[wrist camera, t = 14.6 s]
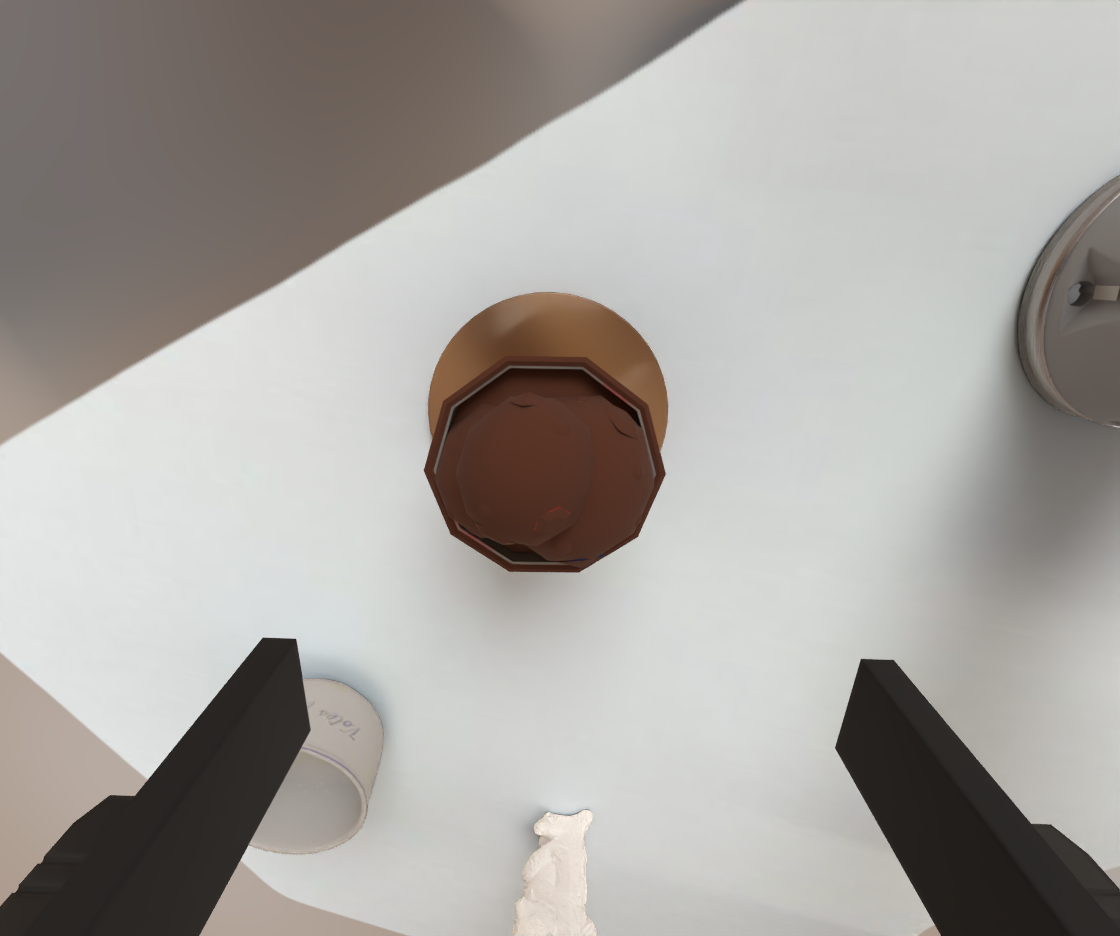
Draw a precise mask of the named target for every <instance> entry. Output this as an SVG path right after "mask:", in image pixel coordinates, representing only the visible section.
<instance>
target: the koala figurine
mask: <svg viewBox="0 0 1120 936" xmlns="http://www.w3.org/2000/svg"><path fill="white" fill-rule="evenodd" d="M592 820H593V814H592V812H591V811H589V810H582V811H581V812H580V813H579V814H575V815H571V816H563V815H556V814H552V813H550V812H547V813H545V815H544V816H543V818H541V819H540V820H539V821H538V822H537V823H535V825H534V832H535V834H537V835H540V838H539V846H540V848H539V849H538V850H536V851H535V852H534V853H533V854H532V855H531V856H530V858H529V860H528V861H527V863H526V865H525V867H524V869H523V872H522V874H523V880H524V881H525V883H526V884H525V885H524V889H525V892H524V897H521V898H520V899H518V900H517V901H516V903H515V909H516V914H517V918H516V920H515V924H514V927H513V929H512V934H513V936H597V932H596V928H595V925H594V923H593V922H592V920H590V918H588V917H586V912H585V907H584V906H585V903H586V901H587V882H586V880H585V879H586V876H585V871H586V859H587V856H586V852H585V848H584V846H585V843H584V835H585V833H586V831H587V830H588V828H589V826H590V824H591V822H592Z"/></svg>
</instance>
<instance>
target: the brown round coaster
mask: <svg viewBox="0 0 1120 936" xmlns="http://www.w3.org/2000/svg"><path fill="white" fill-rule="evenodd" d="M505 356H552V357H587V358H589V359H590V360H591V361H592V362H594V363H595V364H596V365H598V366H599V367H600V368H601V369H603V370H604V371H605V372H607V373H608V374H609V375H611V376H612V377H613V378H614V379H616V380H617V381H618V382H620V383H621V384H622V385H623V386H625V387H626V388H627V389H629V390H630V391H631V392H633V393H634V394H635V395H636V396H638V397H639V398H640V399H642V400H643V401H644V402H645V403H647V404H648V406H649V410H650V414H651V418H652V422H653V426H654V430H655V434H656V438H657V442H658V446H659V450H661V447H662V444H663V441H664V437H665V433H666V427H667V420H668V401H667V391H666V387H665V382H664V378H663V375H662V372H661V369H660V367H659V364H658V362H657V360H656V358H655V356H654V354H653V353H652V351H651V349H650V347H649V346H648V345H647V343H646V342H645V341H644V339H643V338H642V336H641V335H640V334H639V333H638V332H637V331H636V330H635V329H634V328H633V327H632V326H631V325H630V324H629V323H628V322H627V321H625V320H624V319H623V318H622V317H620V316H619V315H618V314H616V313H615V312H613V311H612V310H610V309H608V308H606V307H605V306H603V305H601V304H599V303H596V302H594V301H591V300H589V299H586V298H583V297H579V296H575V295H571V294H565V293H556V292H540V293H530V294H524V295H519V296H516V297H512V298H509V299H506V300H503V301H501V302H499V303H497V304H495V305H493V306H490V307H488V308H487V309H485V310H484V311H482V312H481V313H479V314H478V315H476V316H475V317H473V318H472V319H471V320H470V321H469V322H468V323H466V324H465V325H464V326H463V327H462V328H461V329H460V330H459V331H458V332H457V334H456V335H455V336H454V337H453V338H452V339H451V341H450V342H449V344H448V345H447V347H446V349H445V350H444V352H443V353H442V355H441V357H440V359H439V362H438V364H437V366H436V368H435V371H434V375H433V378H432V382H431V386H430V393H429V402H428V416H429V424H430V431H431V435H432V438H433V436H434V432H435V428H436V425H437V421H438V417H439V414H440V410H441V407H442V403H443V401H444V400H445V399H447V398H448V397H449V396H451V395H452V394H454V393H455V392H456V391H458V390H459V389H460V388H462V387H463V386H465V385H466V384H467V383H469V382H470V381H472V380H473V379H474V378H476V377H477V376H478V375H480V374H481V373H483V372H484V371H485V370H487V369H488V368H490V367H491V366H492V365H494V364H495V363H496V362H498V361H499V360H501V359H502V358H503V357H505Z"/></svg>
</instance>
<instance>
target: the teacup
mask: <svg viewBox="0 0 1120 936" xmlns="http://www.w3.org/2000/svg"><path fill="white" fill-rule="evenodd" d="M303 684H304V690H305V697H306V703H307V709H308V715H309V721H310V728H311V731H310V733H309V735H308V736H307V738H306V740H305V742H304V744H303V746H302V747H301V749H300V751H299V753H298V755H297V757H296V759H295V760H294V762H293V764H292V766H291V768H290V770H289V771H288V773H287V775H286V777H285V779H284V781H283V782H282V784H281V786H280V788H279V790H278V792H277V793H276V795H275V797H274V799H273V801H272V803H271V805H270V806H269V808H268V810H267V812H266V814H265V816H264V817H263V819H262V821H261V823H260V825H259V827H258V828H257V830H256V832H255V834H254V836H253V838H252V839H251V841H250V843H249V846H252V847H255V848H258V849H261V850H264V851H271V852H275V853H282V854H311V853H318V852H322V851H325V850H329V849H332V848H334V847H337V846H339V845H341V844H343V843H345V842H346V841H348V840H349V839H351V838H352V837H353V836H354V835H355V834H356V833H357V832H358V831H359V829H360V828H361V827H362V825H363V823H364V820H365V818H366V815H367V808H368V801H369V798H370V795H371V792H372V788H373V785H374V782H375V778H376V775H377V771H378V768H379V764H380V760H381V756H382V750H383V728H382V724H381V721H380V718H379V716H378V714H377V712H376V710H375V709H374V708H373V706H372V705H371V704H370V703H369V702H368V701H367V700H366V699H365V698H364V697H363V696H362V695H360V694H359V693H358V692H357V691H355V690H354V689H352V688H351V687H349V686H347V685H345V684H342V683H340V682H337V681H333V680H327V679H303Z"/></svg>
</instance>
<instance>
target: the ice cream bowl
mask: <svg viewBox="0 0 1120 936" xmlns="http://www.w3.org/2000/svg"><path fill="white" fill-rule="evenodd" d="M424 472H425V474H426V477H427V479H428V481H429V484H430V486H431V489H432V491H433V493H434V496H435V498H436V500H437V503H438V505H439V508H440V510H441V512H442V515H443V517H444V519H445V522H446V524H447V527H448V529H449V531H450V534H451V535H453V536H454V537H456V538H457V539H459V540H460V541H462V542H464V543H465V544H467V545H468V546H470V547H471V548H473V549H475V550H476V551H478V552H479V553H481V554H482V555H484V556H486V557H487V558H489V559H490V560H492V561H493V562H495V563H497V564H498V565H500V566H501V567H503V568H504V569H506V570H508V571H509V572H580V571H582V570H584V569H585V568H587V567H589V566H590V565H592V564H594V563H595V562H597V561H599V560H600V559H602V558H604V557H605V556H607V555H609V554H610V553H612V552H614V551H615V550H617V549H619V548H620V547H622V546H623V545H625V544H627V543H628V542H630V541H632V540H633V539H635V538H637V537H638V535H639V533H640V531H641V528H642V526H643V524H644V522H645V519H646V517H647V515H648V513H649V510H650V508H651V506H652V504H653V502H654V499H655V497H656V495H657V493H658V490H659V488H660V486H661V484H662V481H663V479H664V477H665V475H666V474H665V470H664V466H663V462H662V458H661V454H660V450H659V446H658V442H657V438H656V434H655V430H654V426H653V422H652V418H651V414H650V410H649V406H648V404H647V403H645V402H644V401H643V400H642V399H640V398H639V397H638V396H636V395H635V394H634V393H633V392H631V391H630V390H629V389H627V388H626V387H625V386H623V385H622V384H621V383H620V382H618V381H617V380H616V379H614V378H613V377H612V376H611V375H609V374H608V373H607V372H605V371H604V370H603V369H601V368H600V367H599V366H598V365H596V364H595V363H594V362H592V361H591V360H590V359H589V358H587V357H552V356H505V357H503V358H502V359H501V360H499V361H498V362H496V363H495V364H494V365H492V366H491V367H490V368H488V369H487V370H485V371H484V372H483V373H481V374H480V375H478V376H477V377H476V378H474V379H473V380H472V381H470V382H469V383H467V384H466V385H465V386H463V387H462V388H460V389H459V390H458V391H456V392H455V393H454V394H452V395H451V396H449V397H448V398H447V399H445V400H444V401H443V403H442V407H441V410H440V414H439V417H438V421H437V425H436V428H435V432H434V436H433V439H432V443H431V446H430V450H429V454H428V457H427V461H426V465H425V468H424Z"/></svg>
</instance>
